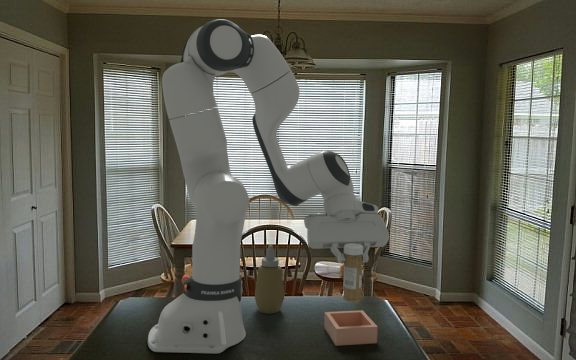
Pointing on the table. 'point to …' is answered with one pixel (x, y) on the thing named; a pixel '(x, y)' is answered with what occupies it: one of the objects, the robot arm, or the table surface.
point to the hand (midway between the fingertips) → (353, 261)
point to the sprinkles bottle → (353, 272)
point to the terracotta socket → (350, 327)
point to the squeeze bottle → (269, 284)
